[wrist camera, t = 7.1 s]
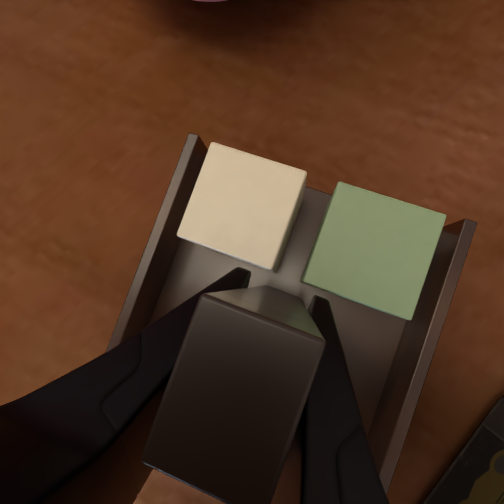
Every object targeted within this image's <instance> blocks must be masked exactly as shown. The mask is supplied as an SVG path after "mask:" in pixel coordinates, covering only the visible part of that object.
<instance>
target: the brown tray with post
mask: <svg viewBox="0 0 504 504" xmlns="http://www.w3.org/2000/svg"><path fill="white" fill-rule="evenodd" d="M207 152H208V149H207V148H206V146H205V145H204V143H203V141H202V140H201V138H200V137H199V135H196V134H193V133H189V134H188V137H187V140H186V142H185V145H184V148H183V150H182V153H181V155H180V158H179V161H178V163H177V166H176V169H175V171H174V174H173V176H172V179H171V182H170V184H169V187H168V190H167V192H166V195H165V198H164V200H163V203H162V205H161V208H160V211H159V213H158V216H157V219H156V221H155V224H154V226H153V229H152V232H151V234H150V237H149V240H148V242H147V245H146V247H145V250H144V253H143V255H142V258H141V261H140V263H139V266H138V268H137V271H136V274H135V276H134V279H133V282H132V284H131V287H130V289H129V292H128V295H127V297H126V300H125V303H124V305H123V308H122V310H121V313H120V316H119V318H118V321H117V324H116V326H115V329H114V331H113V334H112V337H111V339H110V342H109V345H108V347H107V350H106V352H108V351H109V350H111V349H113V348H114V347H116V346H117V345H119V344H121V343H122V342H124V341H125V340H127V339H129V338H130V337H132V336H133V335H135V334H136V333H137V332H141V330H142V329H144V328H145V327H147V326H148V325H150V324H151V323H153V322H154V321H156V320H157V319H159V318H160V317H162V316H163V315H165V314H166V313H168V312H169V311H171V310H173V309H174V308H176V307H177V306H179V305H180V304H182V303H183V302H185V301H186V300H188V299H189V298H191V297H192V296H194V295H195V294H197V293H198V292H200V291H201V290H203V289H204V288H206V287H207V286H209V285H210V284H212V283H213V282H215V281H216V280H218V279H219V278H221V277H222V276H224V275H225V274H227V273H228V272H230V271H231V270H233V269H234V268H236V267H242V268H245V269H248V270H250V271H251V277H250V282H249V286H248V288H242V289H234V290H227V291H219V292H211V293H204V294H202V295H201V296H200V297H199V300H198V302H197V305H196V308H195V310H194V313H193V316H192V319H191V321H190V324H189V327H188V329H187V332H186V335H185V337H184V340H183V343H182V346H181V348H180V351H179V354H178V356H177V359H176V362H175V365H174V367H173V370H172V373H171V375H170V378H169V381H168V383H167V386H166V389H165V392H164V394H163V397H162V400H161V402H160V405H159V408H158V410H157V413H156V416H155V419H154V421H153V424H152V427H151V429H150V432H149V435H148V437H147V440H146V443H145V446H144V448H143V451H142V454H141V462H142V463H143V464H145V465H147V466H150V467H152V468H154V469H156V470H158V471H160V472H162V473H164V474H166V475H168V476H170V477H173V478H175V479H177V480H179V481H181V482H183V483H185V484H187V485H189V486H191V487H193V488H196V489H198V490H200V491H202V492H204V493H206V494H208V495H210V496H212V497H214V498H216V499H219V500H221V501H223V502H225V503H227V504H271V501H272V498H273V495H274V492H275V490H276V487H277V484H278V481H279V478H280V475H281V472H282V470H283V467H284V464H285V461H286V458H287V455H288V452H289V450H290V447H291V444H292V441H293V438H294V435H295V432H296V430H297V427H298V424H299V421H300V418H301V415H302V412H303V409H304V407H305V404H306V401H307V398H308V395H309V392H310V389H311V387H312V384H313V381H314V378H315V375H316V372H317V369H318V367H319V364H320V361H321V358H322V355H323V352H324V349H325V346H326V341H325V339H324V338H323V336H322V334H321V333H320V331H319V329H318V327H317V326H316V324H315V322H314V321H313V319H312V317H311V315H310V314H309V312H308V310H307V309H308V307H309V305H310V303H311V301H312V298H313V296H314V295H318V296H321V297H324V298H326V299H328V300H329V301H330V305H331V308H332V312H333V315H334V319H335V323H336V326H337V330H338V334H339V337H340V341H341V344H342V348H343V352H344V355H345V359H346V363H347V366H348V370H349V373H350V377H351V381H352V384H353V388H354V392H355V395H356V399H357V402H358V406H359V410H360V413H361V417H362V421H363V423H362V424H361V425H364V427H365V431H366V435H367V438H368V442H369V445H370V449H371V452H372V455H373V459H374V462H375V465H376V468H377V471H378V474H379V477H380V480H381V482H382V485H383V488H384V491H385V494H386V496H387V493H388V490H389V487H390V484H391V481H392V478H393V475H394V472H395V469H396V466H397V463H398V460H399V457H400V454H401V451H402V448H403V445H404V442H405V439H406V436H407V433H408V430H409V427H410V424H411V421H412V418H413V415H414V412H415V409H416V406H417V403H418V400H419V397H420V394H421V391H422V388H423V385H424V382H425V379H426V376H427V373H428V370H429V367H430V364H431V361H432V358H433V355H434V352H435V349H436V346H437V343H438V340H439V337H440V334H441V331H442V328H443V325H444V322H445V319H446V316H447V313H448V310H449V307H450V304H451V301H452V298H453V295H454V292H455V289H456V286H457V283H458V280H459V277H460V274H461V271H462V268H463V265H464V262H465V259H466V256H467V253H468V250H469V247H470V244H471V241H472V238H473V235H474V232H475V229H476V226H477V222H475V221H472V220H469V219H463V220H460V221H457V222H455V223H452V224H449V225H446V226H444V227H443V228H442V231H441V234H440V237H439V240H438V243H437V246H436V249H435V252H434V255H433V258H432V261H431V263H430V266H429V269H428V272H427V275H426V278H425V281H424V284H423V287H422V290H421V293H420V296H419V299H418V302H417V305H416V308H415V311H414V314H413V317H412V319H411V320H406V319H403V318H400V317H397V316H394V315H391V314H388V313H385V312H382V311H379V310H376V309H373V308H370V307H368V306H365V305H362V304H359V303H357V302H354V301H351V300H348V299H346V298H343V297H340V296H337V295H335V294H332V293H329V292H326V291H324V290H321V289H318V288H315V287H313V286H310V285H307V284H304V283H302V282H300V280H301V277H302V274H303V271H304V269H305V266H306V263H307V260H308V257H309V255H310V252H311V249H312V246H313V243H314V241H315V238H316V235H317V232H318V229H319V227H320V224H321V221H322V218H323V215H324V213H325V210H326V207H327V205H328V203H329V200H330V198H331V196H332V195H331V194H328V193H325V192H322V191H319V190H316V189H312V188H309V187H306V186H305V190H304V197H303V201H302V204H301V207H300V209H299V212H298V215H297V218H296V220H295V223H294V226H293V229H292V232H291V234H290V237H289V240H288V243H287V245H286V248H285V251H284V254H283V257H282V259H281V262H280V265H279V268H278V270H277V272H276V273H274V272H271V271H269V270H266V269H263V268H260V267H258V266H255V265H252V264H249V263H247V262H244V261H241V260H238V259H236V258H233V257H230V256H227V255H225V254H222V253H219V252H216V251H214V250H211V249H208V248H205V247H203V246H200V245H198V244H195V243H193V242H190V241H188V240H185V239H183V238H180V237H178V236H177V232H178V229H179V227H180V224H181V221H182V219H183V216H184V213H185V211H186V208H187V205H188V203H189V200H190V197H191V195H192V192H193V189H194V187H195V184H196V181H197V179H198V176H199V174H200V171H201V168H202V166H203V163H204V160H205V158H206V155H207Z"/></svg>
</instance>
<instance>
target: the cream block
mask: <svg viewBox="0 0 504 504" xmlns="http://www.w3.org/2000/svg"><path fill="white" fill-rule="evenodd" d="M306 177H307V172H306V171H304V170H301V169H297V168H294V167H291V166H288V165H285V164H282V163H278V162H275V161H272V160H269V159H266V158H262V157H259V156H256V155H253V154H250V153H246V152H243V151H240V150H237V149H234V148H230V147H227V146H224V145H221V144H218V143H214V142H212V143H211V144H210V147H209V150H208V152H207V155H206V158H205V160H204V163H203V166H202V168H201V171H200V174H199V176H198V179H197V181H196V184H195V187H194V189H193V192H192V195H191V197H190V200H189V203H188V205H187V208H186V211H185V213H184V216H183V219H182V221H181V224H180V227H179V229H178V232H177V236H178V237H180V238H183V239H185V240H188V241H190V242H193V243H195V244H198V245H200V246H203V247H205V248H208V249H211V250H214V251H216V252H219V253H222V254H225V255H227V256H230V257H233V258H236V259H238V260H241V261H244V262H247V263H249V264H252V265H255V266H258V267H260V268H263V269H266V270H269V271H271V272H274V273H276V272H277V270H278V268H279V265H280V262H281V259H282V257H283V254H284V251H285V248H286V245H287V243H288V240H289V237H290V234H291V232H292V229H293V226H294V223H295V220H296V218H297V215H298V212H299V209H300V207H301V204H302V201H303V197H304V190H305V184H306Z"/></svg>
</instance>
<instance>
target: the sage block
mask: <svg viewBox="0 0 504 504" xmlns="http://www.w3.org/2000/svg"><path fill="white" fill-rule="evenodd" d="M445 219H446V215H445V214H442V213H439V212H436V211H432V210H429V209H426V208H423V207H420V206H416V205H413V204H410V203H407V202H404V201H400V200H397V199H394V198H391V197H388V196H384V195H381V194H378V193H375V192H372V191H368V190H365V189H362V188H359V187H356V186H352V185H349V184H346V183H343V182H338V183H337V186H336V188H335V190H334V192H333V194H332V196H331V198H330V200H329V203H328V205H327V207H326V210H325V213H324V215H323V218H322V221H321V224H320V227H319V229H318V232H317V235H316V238H315V241H314V243H313V246H312V249H311V252H310V255H309V257H308V260H307V263H306V266H305V269H304V271H303V274H302V277H301V280H300V282H302V283H304V284H307V285H310V286H313V287H315V288H318V289H321V290H324V291H326V292H329V293H332V294H335V295H337V296H340V297H343V298H346V299H348V300H351V301H354V302H357V303H359V304H362V305H365V306H368V307H370V308H373V309H376V310H379V311H382V312H385V313H388V314H391V315H394V316H397V317H400V318H403V319H406V320H411V319H412V317H413V314H414V311H415V308H416V305H417V302H418V299H419V296H420V293H421V290H422V287H423V284H424V281H425V278H426V275H427V272H428V269H429V266H430V263H431V261H432V258H433V255H434V252H435V249H436V246H437V243H438V240H439V237H440V234H441V231H442V228H443V225H444V222H445Z"/></svg>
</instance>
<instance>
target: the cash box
mask: <svg viewBox="0 0 504 504" xmlns="http://www.w3.org/2000/svg"><path fill="white" fill-rule="evenodd" d="M423 504H504V397H503V398H501V399H499V400H498V401H497V403H496V404H495V406H494V407H493V408H492V410H491V411H490V412H489V414H488V415H487V416H486V418H485V419H484V421H483V422H482V423H481V424H480V426H479V427H478V429H477V430H476V431H475V433H474V434H473V435H472V437H471V438H470V439H469V441H468V442H467V444H466V445H465V446H464V448H463V449H462V450H461V452H460V453H459V455H458V456H457V457H456V459H455V460H454V461H453V463H452V464H451V465H450V467H449V468H448V470H447V471H446V472H445V474H444V475H443V476H442V478H441V479H440V481H439V482H438V483H437V485H436V486H435V487H434V489H433V490H432V491H431V493H430V494H429V496H428V497H427V498H426V500H425V501H424V502H423Z"/></svg>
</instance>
